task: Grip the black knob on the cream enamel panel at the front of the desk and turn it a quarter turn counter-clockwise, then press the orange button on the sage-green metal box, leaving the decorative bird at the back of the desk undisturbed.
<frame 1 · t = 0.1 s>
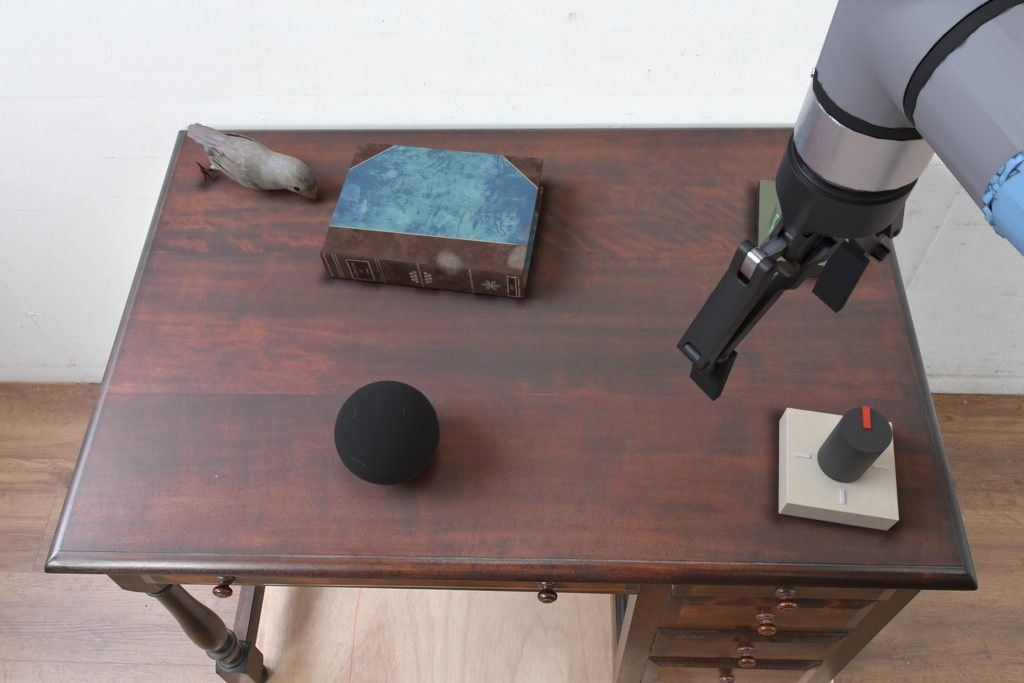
hand: (767, 342, 64), 19 cm above the table, tool pointing down, fingers open, 13 cm apart
decorative bird: (263, 185, 101), on the table
knob panel: (831, 473, 78), on the table
book: (440, 232, 96), on the table
speaker: (395, 454, 81), on the table
knob: (853, 445, 72), point 7 cm above the table, hinge at 0.0°
button box: (797, 234, 94), on the table
button: (808, 208, 90), point 4 cm above the table, slide at 0.1 cm
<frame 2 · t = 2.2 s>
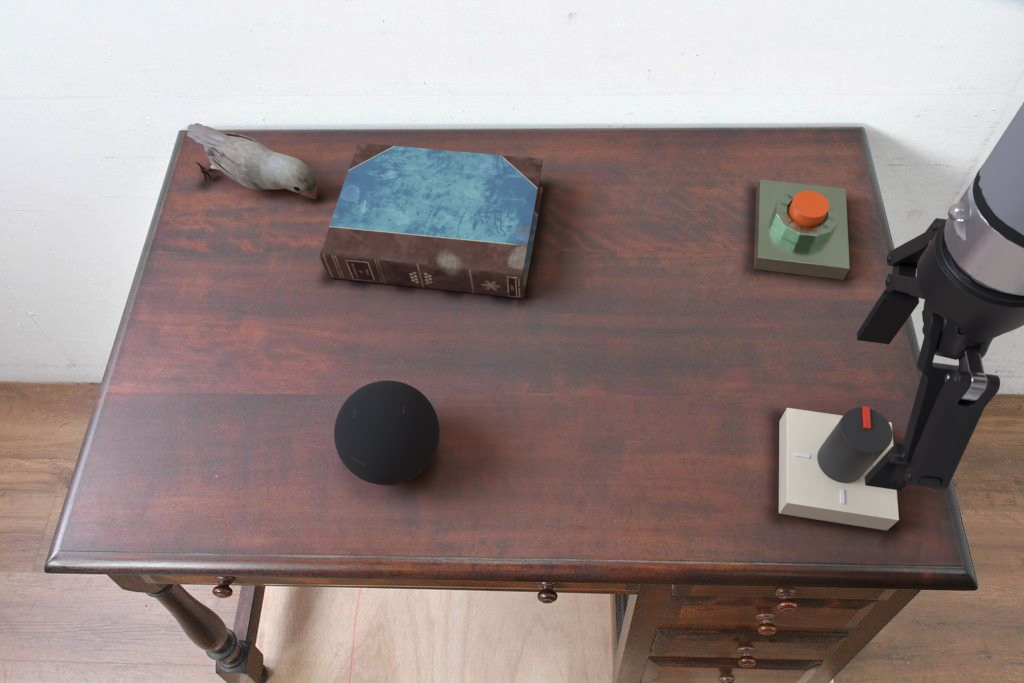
hand: (877, 407, 66), 14 cm above the table, tool pointing down, fingers open, 13 cm apart
nothing on the table moved.
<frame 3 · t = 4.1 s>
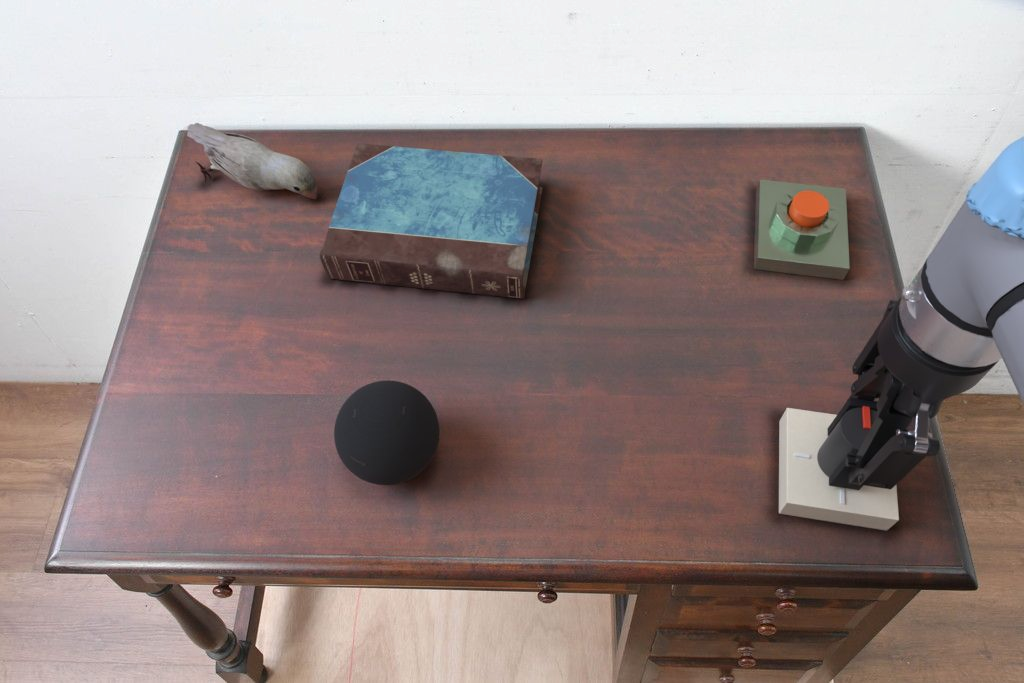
hand: (843, 458, 75), 4 cm above the table, tool pointing down, fingers closed on knob, 4 cm apart
knob: (853, 445, 72), point 7 cm above the table, hinge at 0.0°, touching gripper
everything else where it was.
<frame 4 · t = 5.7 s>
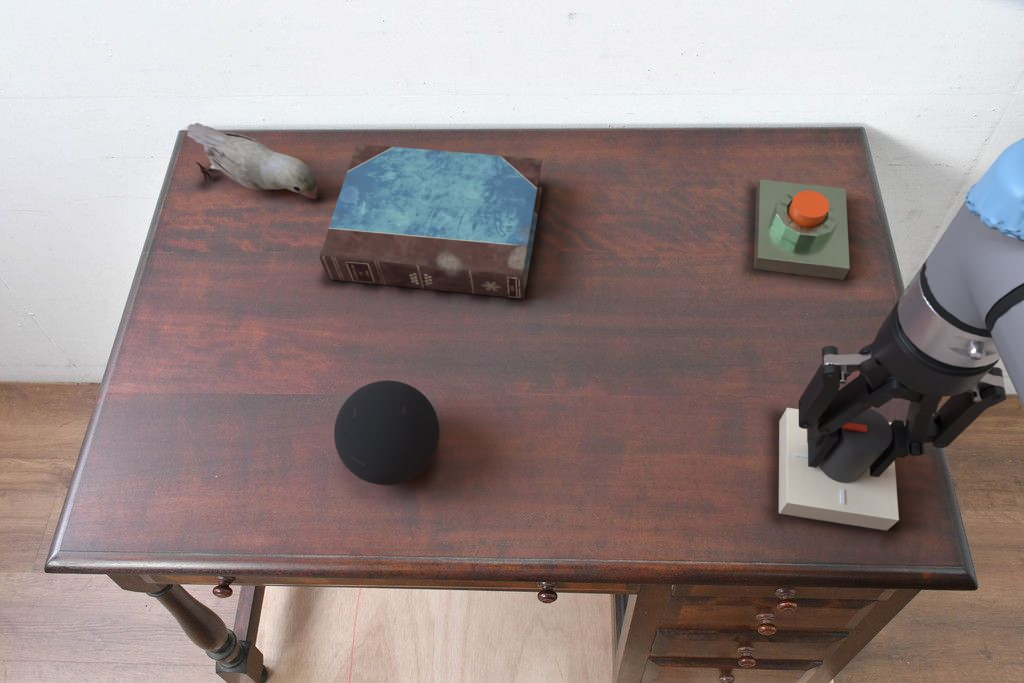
hand: (842, 458, 75), 4 cm above the table, tool pointing down, fingers open, 5 cm apart
knob: (853, 445, 72), point 7 cm above the table, hinge at 90.2°
everything else where it was.
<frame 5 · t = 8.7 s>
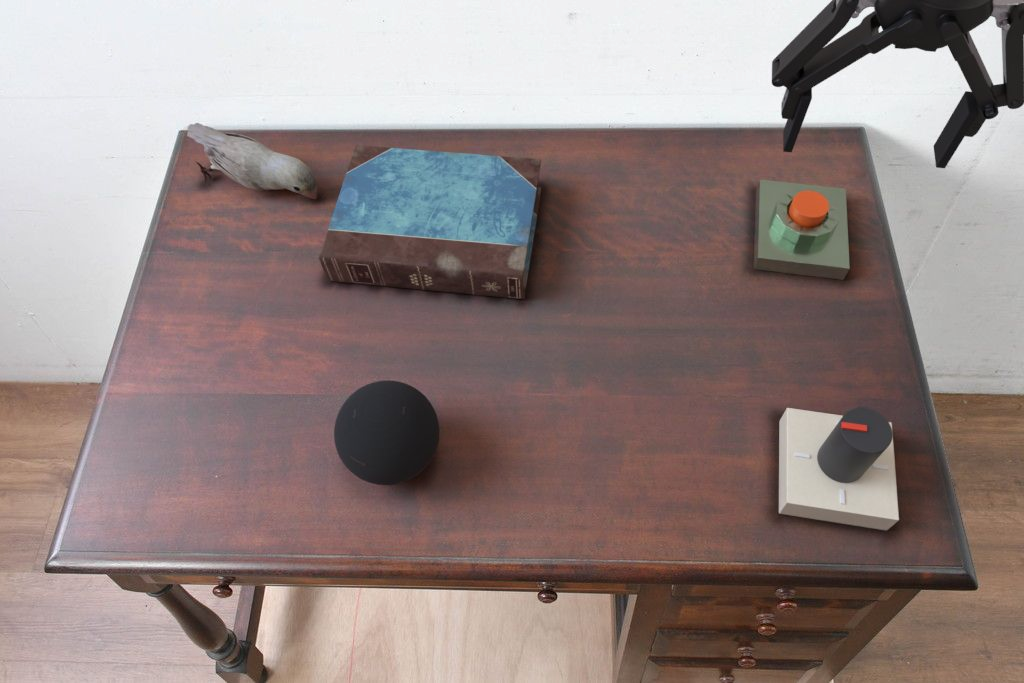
hand: (862, 149, 74), 20 cm above the table, tool pointing down, fingers open, 13 cm apart
nothing on the table moved.
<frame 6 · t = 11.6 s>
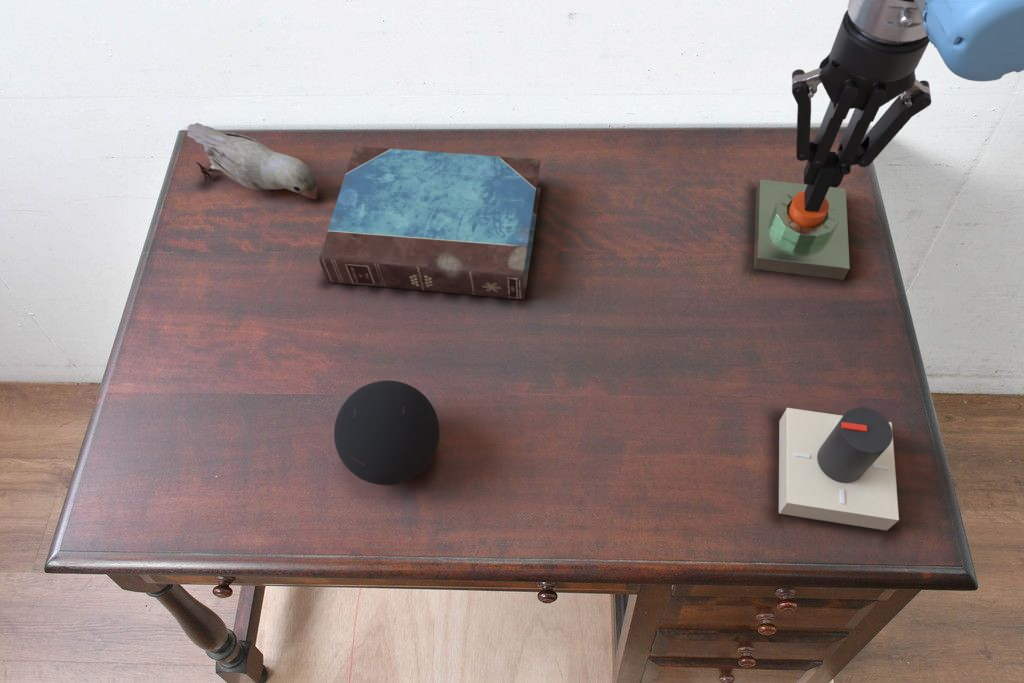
hand: (811, 201, 89), 6 cm above the table, tool pointing down, fingers closed
button: (808, 209, 90), point 4 cm above the table, slide at 0.1 cm, touching gripper
everything else where it was.
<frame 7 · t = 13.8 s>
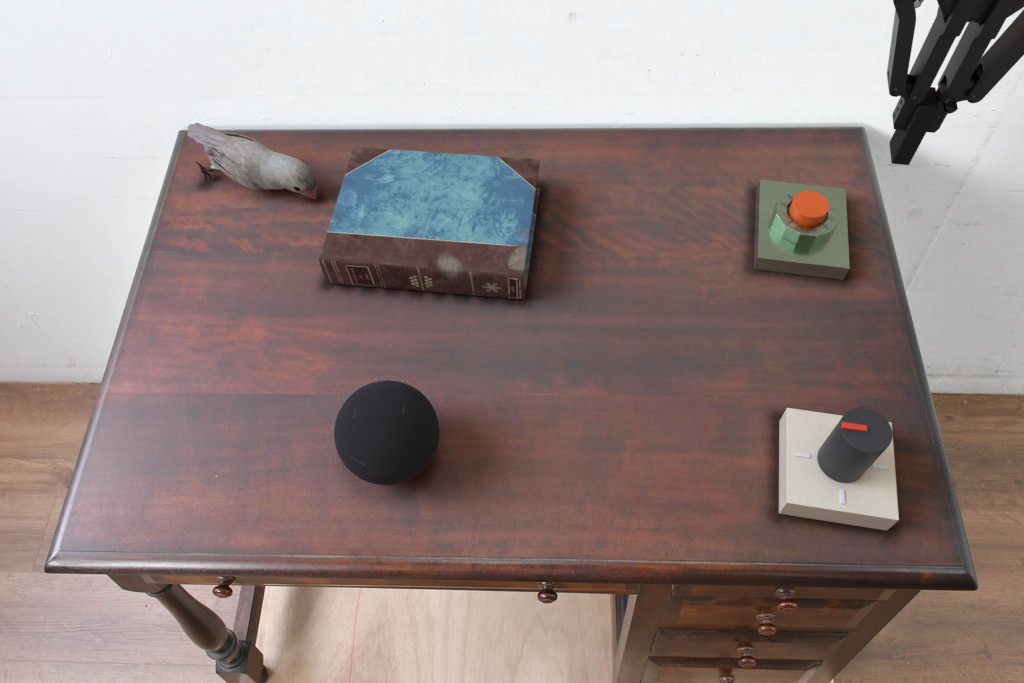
hand: (898, 153, 73), 20 cm above the table, tool pointing down, fingers closed
button: (808, 208, 90), point 4 cm above the table, slide at 0.1 cm
everything else where it was.
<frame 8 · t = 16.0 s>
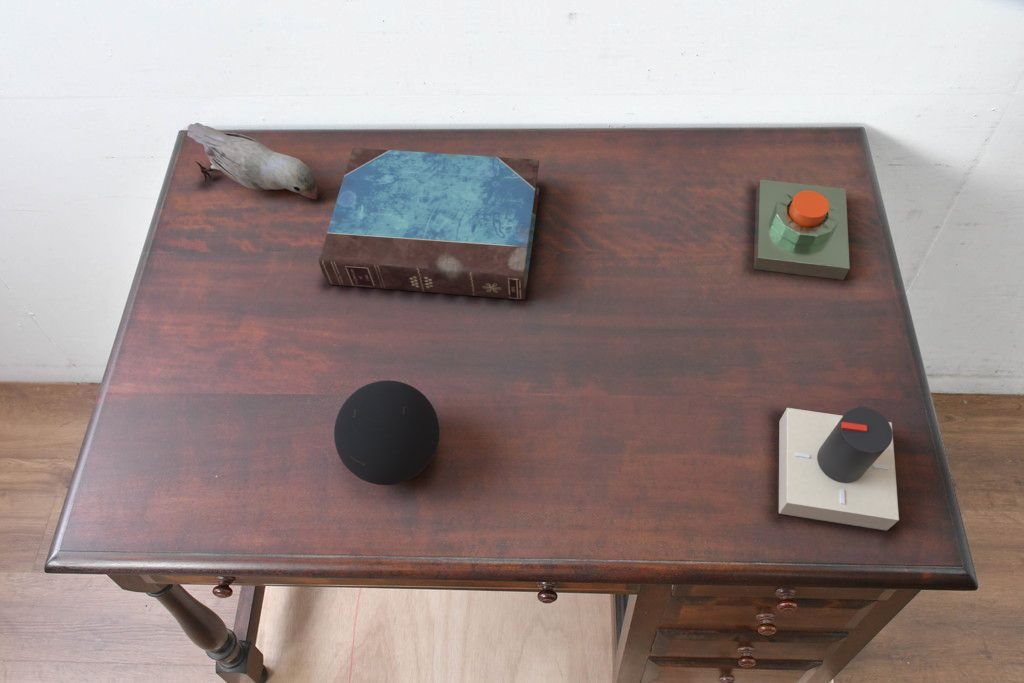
nothing on the table moved.
at the end: knob at +90° (first picture: +0°); button pushed in 1.0 cm at the most during the clip, back to where it started at the end; decorative bird moved 0.2 cm from its start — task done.
